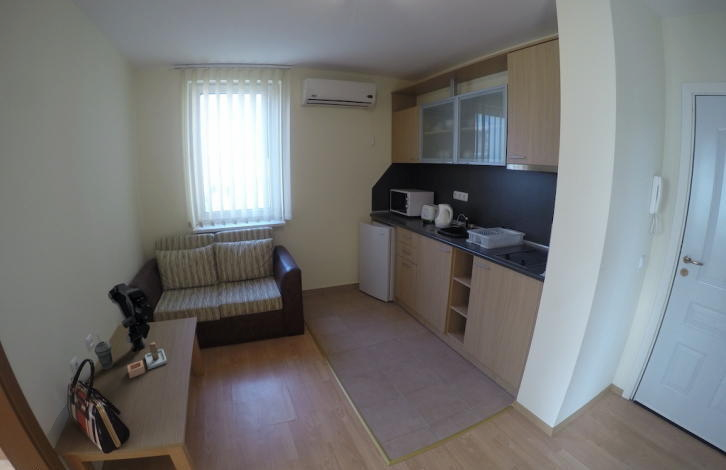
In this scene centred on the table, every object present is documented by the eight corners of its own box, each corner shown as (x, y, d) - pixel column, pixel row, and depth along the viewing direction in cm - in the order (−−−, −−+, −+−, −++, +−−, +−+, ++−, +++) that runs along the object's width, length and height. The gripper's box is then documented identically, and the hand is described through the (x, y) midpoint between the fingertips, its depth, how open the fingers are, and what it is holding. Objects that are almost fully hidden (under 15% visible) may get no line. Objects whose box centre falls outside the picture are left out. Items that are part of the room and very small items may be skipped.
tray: (145, 357, 182) (144, 354, 181) (163, 350, 188) (162, 348, 187) (148, 369, 172) (147, 367, 171) (167, 362, 177) (166, 359, 177)
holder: (128, 371, 170) (127, 365, 169) (143, 366, 175) (142, 360, 174) (129, 378, 165) (128, 371, 164) (145, 372, 170) (143, 366, 169)
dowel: (152, 358, 180) (149, 343, 177) (158, 356, 181) (155, 341, 179) (153, 361, 177) (149, 346, 175) (159, 359, 179) (156, 344, 177)
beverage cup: (107, 372, 170) (98, 340, 165) (96, 370, 172) (87, 338, 166) (119, 363, 177) (111, 332, 172) (109, 361, 179) (100, 331, 173)
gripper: (120, 309, 179) (126, 333, 183) (122, 322, 165) (128, 348, 169) (143, 303, 186) (148, 326, 190) (147, 315, 172) (153, 340, 176)
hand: (144, 335), depth 181 cm, fingers open, 9 cm apart
